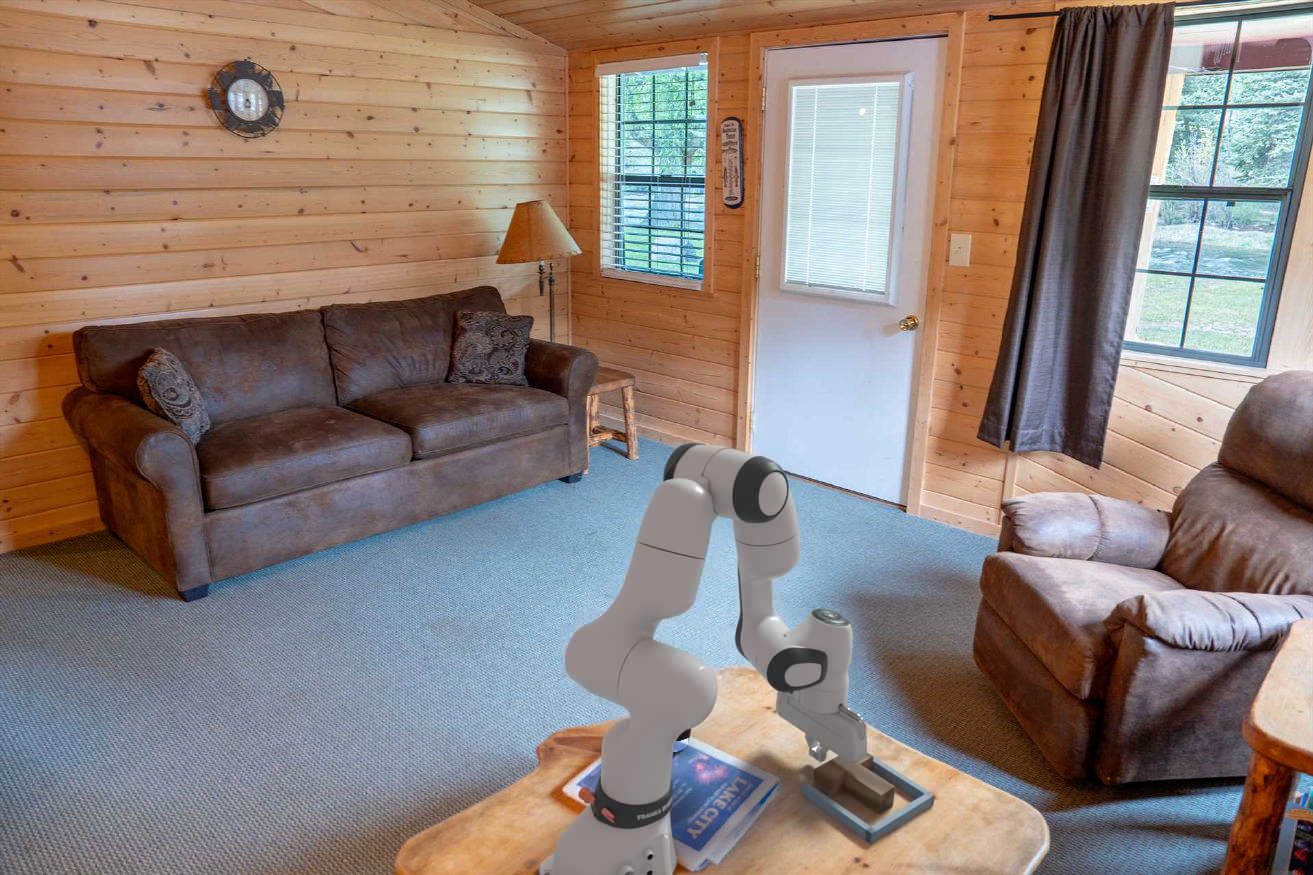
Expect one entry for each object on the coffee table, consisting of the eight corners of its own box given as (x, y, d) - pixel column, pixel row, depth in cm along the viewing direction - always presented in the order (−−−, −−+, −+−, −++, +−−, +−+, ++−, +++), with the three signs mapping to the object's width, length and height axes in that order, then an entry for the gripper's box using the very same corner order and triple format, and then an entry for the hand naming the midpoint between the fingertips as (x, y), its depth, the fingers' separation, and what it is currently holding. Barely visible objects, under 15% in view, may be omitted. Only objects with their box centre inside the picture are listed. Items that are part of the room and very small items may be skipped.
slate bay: (870, 843, 155) (871, 833, 154) (801, 794, 167) (802, 784, 166) (933, 804, 165) (934, 794, 165) (864, 760, 177) (865, 751, 177)
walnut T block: (864, 823, 160) (866, 803, 159) (812, 787, 169) (813, 769, 168) (906, 796, 167) (909, 777, 166) (854, 763, 176) (856, 745, 175)
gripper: (878, 713, 165) (870, 780, 169) (796, 665, 181) (791, 726, 184) (854, 725, 161) (847, 792, 165) (773, 674, 177) (768, 737, 181)
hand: (817, 757), depth 175 cm, fingers closed
